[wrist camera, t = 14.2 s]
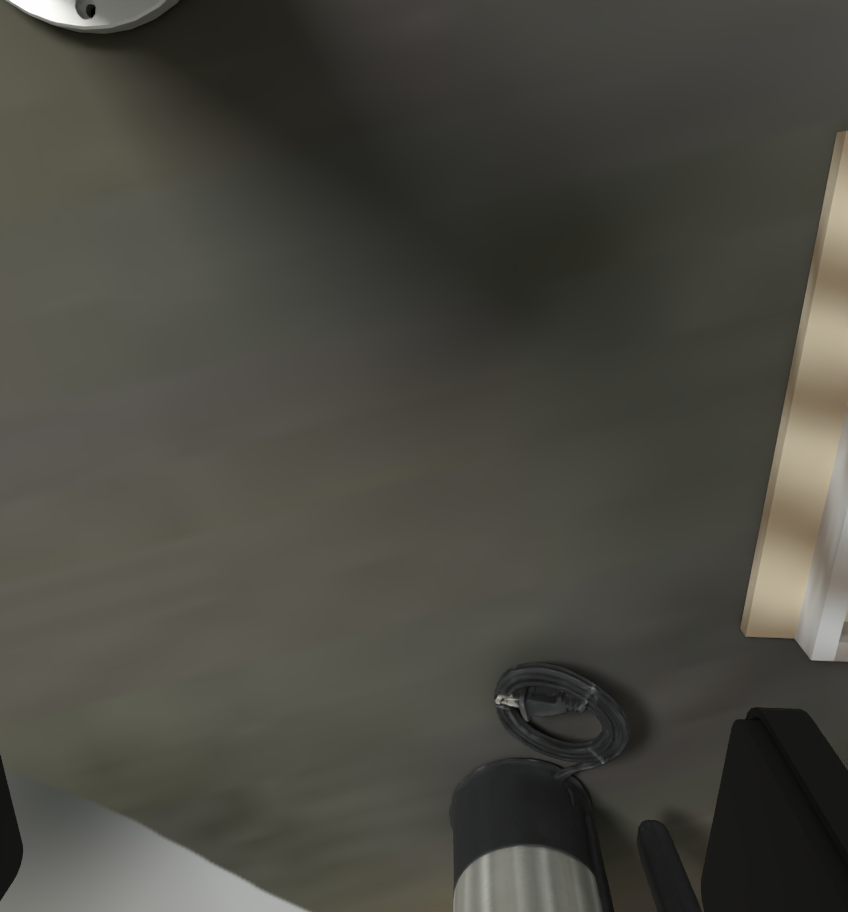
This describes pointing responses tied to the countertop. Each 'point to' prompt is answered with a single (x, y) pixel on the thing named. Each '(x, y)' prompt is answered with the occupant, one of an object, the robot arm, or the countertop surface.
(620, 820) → the countertop surface
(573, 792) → the milk frother
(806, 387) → the door track
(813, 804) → the robot arm
